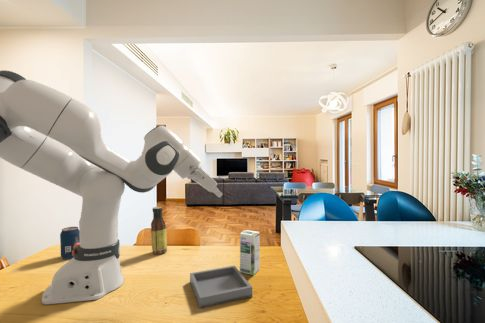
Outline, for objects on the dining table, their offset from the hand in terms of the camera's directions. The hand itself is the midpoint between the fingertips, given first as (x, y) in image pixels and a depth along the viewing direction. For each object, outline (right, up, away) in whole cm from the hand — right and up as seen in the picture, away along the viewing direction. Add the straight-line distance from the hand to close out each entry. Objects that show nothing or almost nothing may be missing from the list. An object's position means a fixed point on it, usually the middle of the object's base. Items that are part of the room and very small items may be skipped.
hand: (217, 193), depth 90 cm
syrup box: (+12, -30, +6) cm, 32 cm away
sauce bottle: (-28, -29, +24) cm, 47 cm away
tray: (+1, -30, -7) cm, 31 cm away
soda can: (-64, -29, +19) cm, 73 cm away
